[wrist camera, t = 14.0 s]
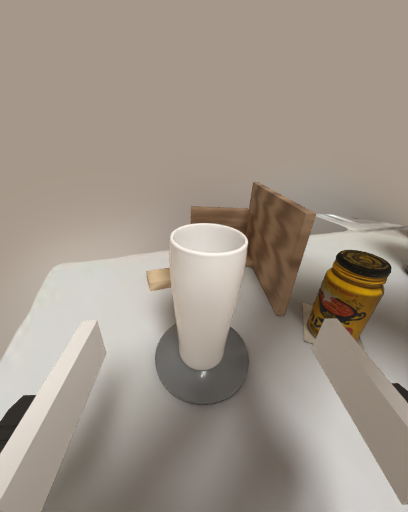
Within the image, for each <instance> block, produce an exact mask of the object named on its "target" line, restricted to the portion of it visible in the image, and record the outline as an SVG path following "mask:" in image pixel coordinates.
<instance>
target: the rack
mask: <svg viewBox="0 0 408 512" xmlns="http://www.w3.org/2000/svg"><path fill="white" fill-rule="evenodd" d="M315 216H316V214H315V213H314V212H312V211H310V210H308V209H306V208H305V207H303V206H301V205H299V204H297V203H295V202H293V201H292V200H290V199H288V198H286V197H284V196H282V195H281V194H279V193H277V192H275V191H273V190H271V189H269V188H268V187H266V186H264V185H262V184H260V183H257V182H253V187H252V193H251V200H250V206H249V209H248V208H224V207H222V208H221V207H197V206H191V224H198V223H210V224H219V225H224V226H228V227H231V228H234V229H236V230H238V231H240V232H242V233H243V234H244V235H245V236H246V237H247V239H248V248H247V257H246V265H245V266H246V267H253V269H254V271H255V273H256V275H257V277H258V279H259V281H260V283H261V285H262V287H263V289H264V291H265V293H266V295H267V297H268V299H269V301H270V303H271V305H272V307H273V309H274V311H275V313H276V315H284V314H285V311H286V308H287V305H288V302H289V299H290V295H291V292H292V289H293V286H294V283H295V280H296V276H297V273H298V270H299V267H300V264H301V261H302V257H303V254H304V251H305V248H306V245H307V242H308V238H309V235H310V232H311V229H312V226H313V222H314V219H315Z"/></svg>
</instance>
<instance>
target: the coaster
mask: <svg viewBox="0 0 408 512" xmlns="http://www.w3.org/2000/svg"><path fill="white" fill-rule="evenodd" d="M155 360H156V369H157V373H158V376H159V378H160V380H161V382H162V383H163V385H164V386H165V387H166V389H167V390H168V391H169V392H170V393H172V394H173V395H174V396H176V397H177V398H179V399H181V400H183V401H185V402H188V403H192V404H198V405H208V404H214V403H217V402H221V401H223V400H225V399H227V398H229V397H230V396H231V395H233V394H234V393H235V392H236V391H237V390H238V389H239V388H240V386H241V385H242V383H243V381H244V379H245V377H246V374H247V370H248V362H249V358H248V352H247V348H246V346H245V343H244V342H243V340H242V338H241V337H240V335H239V334H238V333H237V332H236V331H235V330H234V329H232V328H231V327H230V329H229V332H228V336H227V340H226V343H225V349H224V354H223V357H222V359H221V361H220V362H219V364H218V365H216V366H215V367H214V368H212V369H209V370H204V371H199V370H195V369H192V368H190V367H188V366H187V365H186V364H185V363H184V362H183V361H182V359H181V357H180V354H179V340H178V332H177V325H176V324H175V325H174V326H172V327H171V328H170V329H169V330H167V331H166V333H165V334H164V335H163V336H162V338H161V339H160V341H159V343H158V346H157V350H156V358H155Z"/></svg>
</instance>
